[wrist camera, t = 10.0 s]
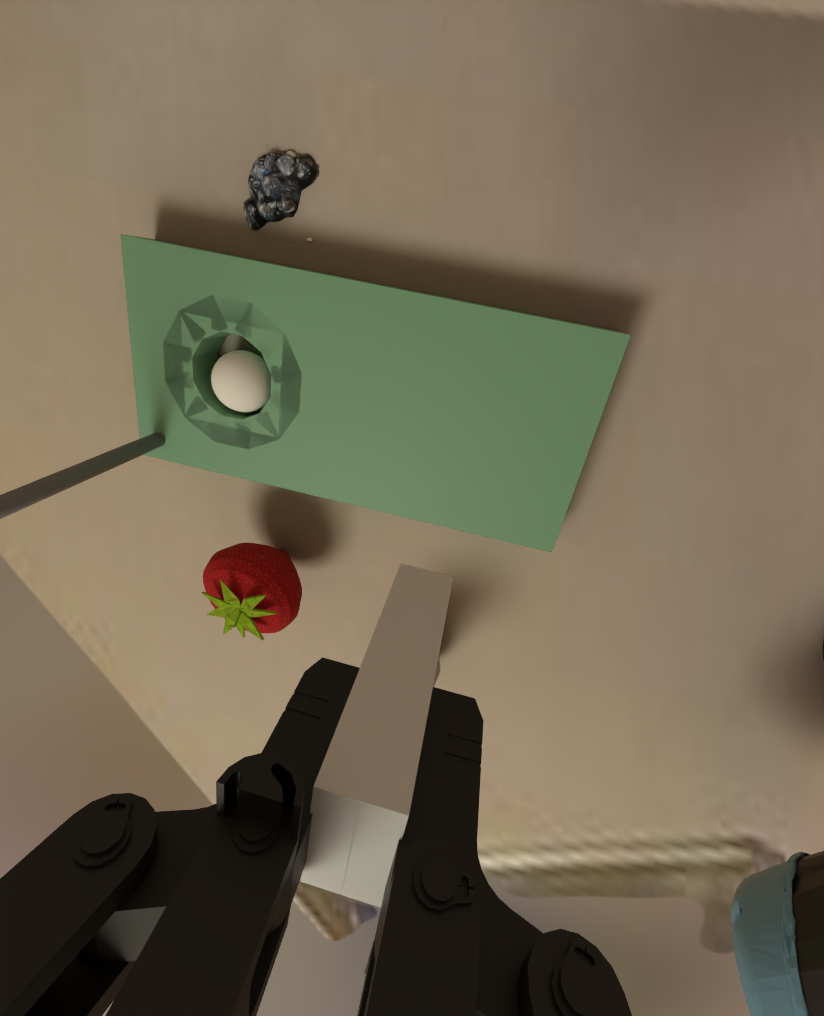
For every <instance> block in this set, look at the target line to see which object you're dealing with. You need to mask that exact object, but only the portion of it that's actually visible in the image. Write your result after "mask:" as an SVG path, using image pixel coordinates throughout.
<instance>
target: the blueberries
mask: <svg viewBox="0 0 824 1016" xmlns="http://www.w3.org/2000/svg"><path fill="white" fill-rule="evenodd" d="M318 175H319V165H318V164H317V163H316V162H315V160H314V159H313V158H312V157H311V156H310V155H309V154H305V155H302V154H300V153H297V152H296V151H295V150H291V149H290V150H288V151H282V150H281V151H278V150H277V148H276V146H275V149H274V150H271V149H270V148H269V145H268V144H267V147H266V150H265V152H264V154H263V155H262V156H261V157H259V158H258V160H256V161H255V162H254V164H253V167H252V170H251V171H250V176H249V179H248V183H249V191H250V198H249V199H247V200H246V201H245V202H244V212H245V215H246V220H247V222H248V223H249V225H250V227H251V229H253V230H258V229H260V228H261V227H263V226H264V225H265V224H266V223H267V222H278V221H281V220H283V219H284V218H287V217H293V216H294V214H295V213H296V212H297V209H298V204H299V201H300V196H301V191H302V190H303V189H305V188H307V187H308V186H309V185H311V184H312V183H313V182H314V181H315V180H316V178H317V177H318ZM312 239H313V238H308V239H306V240H308V241H312ZM293 247H294V244H293ZM293 247H292V248H293Z"/></svg>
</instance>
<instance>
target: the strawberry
mask: <svg viewBox="0 0 824 1016" xmlns="http://www.w3.org/2000/svg"><path fill="white" fill-rule="evenodd" d="M203 584H204V587H205V590H206V593H205V592H202V593H203V594H204V595H205V596H206V597H207V598H208V599H209V600H210V602H211V604H212V605H213V606H214V608H215V610H213V611H212V612H210V613H209V614H207V615H212V616H218V617H224V618H225V619H226V621H225V626H224V632H223V634H225V633H226V632H228V631H229V630H231V629H232V628H234V627H235V626H236V627H237V628H238V630H239V631H240V633H241V635H242V636H243V638H244V637H245V630H247V631H250V632H251V633H253V634H254V635H256V636H257V637H258V638H260V639H261V640H263V639H264V638H263V636H262V635H261V633H275V632H278V631H281V630H282V629H284V628H285V627H286V626H288V625H289V624H290V623H291V622H292V621H293V620H294V619H295V618H296V616H297V614H298V611H299V607H300V601H301V596H302V587H301V583H300V580H299V577H298V574H297V571H296V568H295V566H294V564H293V563H292V561H291V559H290V557H289V555H288V554H287V553H286V552H285V551H284V550H281V549H276V548H273V547H271V546H267V545H261V544H254V543H240V544H237V545H234V546H231V547H228V548H225V549H223V550H220V551H218V552H216V553H215V554H214V555H213V556H212V558H211V559H210V561H209V563H208V564H207V566H206V568H205V570H204V573H203Z"/></svg>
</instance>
